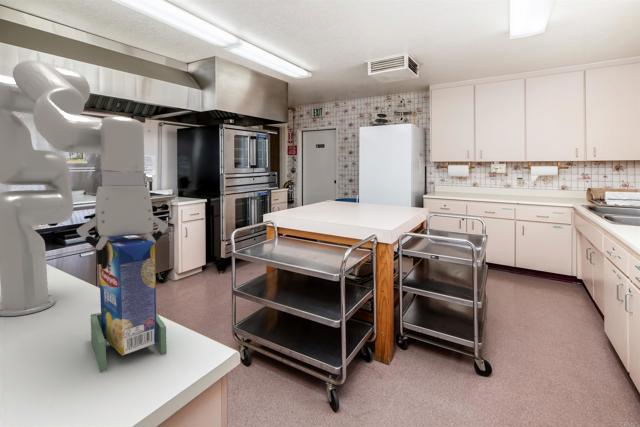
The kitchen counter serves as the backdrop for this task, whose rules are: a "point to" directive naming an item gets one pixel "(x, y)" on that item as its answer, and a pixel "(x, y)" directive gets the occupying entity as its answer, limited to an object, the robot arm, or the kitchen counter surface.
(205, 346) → the kitchen counter surface
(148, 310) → the beverage box
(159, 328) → the mount bracket
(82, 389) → the kitchen counter surface
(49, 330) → the kitchen counter surface
